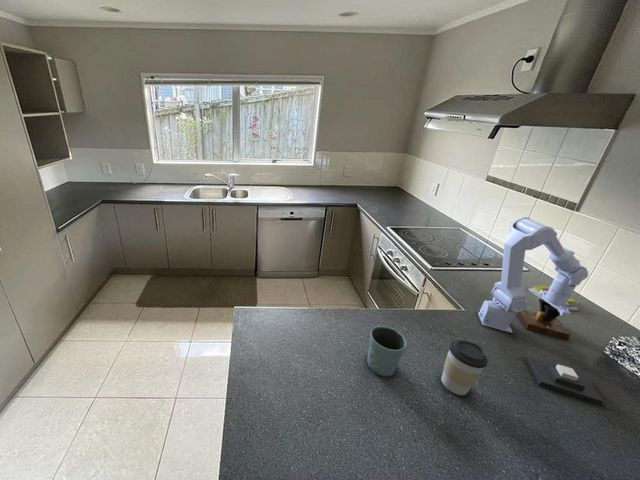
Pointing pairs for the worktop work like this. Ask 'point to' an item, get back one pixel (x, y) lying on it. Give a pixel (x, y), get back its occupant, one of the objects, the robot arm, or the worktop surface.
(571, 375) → the white square block
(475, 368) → the coffee cup
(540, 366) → the dark grey base plate
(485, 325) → the robot arm
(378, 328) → the teal cup
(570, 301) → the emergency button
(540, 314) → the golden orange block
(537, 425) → the worktop surface
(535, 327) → the brown flat block
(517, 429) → the worktop surface
